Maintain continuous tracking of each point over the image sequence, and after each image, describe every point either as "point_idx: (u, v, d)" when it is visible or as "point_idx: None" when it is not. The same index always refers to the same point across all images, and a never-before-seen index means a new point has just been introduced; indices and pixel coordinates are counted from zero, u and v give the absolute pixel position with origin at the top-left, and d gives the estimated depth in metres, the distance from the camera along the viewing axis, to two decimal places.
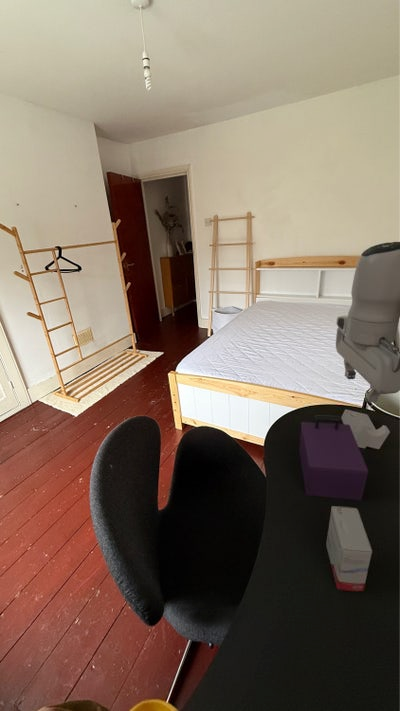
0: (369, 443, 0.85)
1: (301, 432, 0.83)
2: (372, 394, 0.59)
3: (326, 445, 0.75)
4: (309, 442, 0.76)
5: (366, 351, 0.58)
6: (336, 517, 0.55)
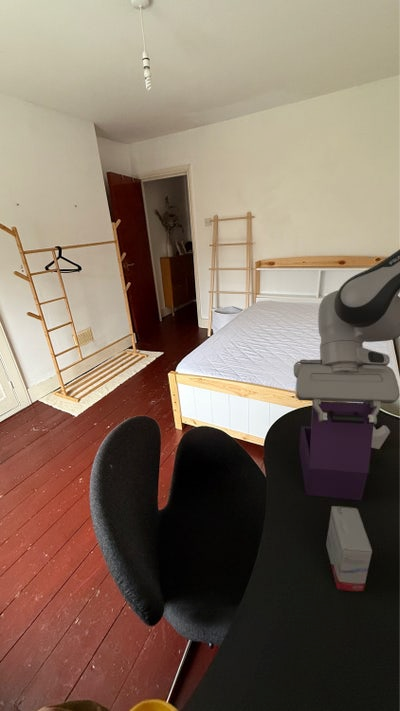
0: None
1: (301, 432, 0.83)
2: (316, 411, 0.64)
3: (334, 440, 0.66)
4: (316, 437, 0.67)
5: None
6: (336, 517, 0.55)
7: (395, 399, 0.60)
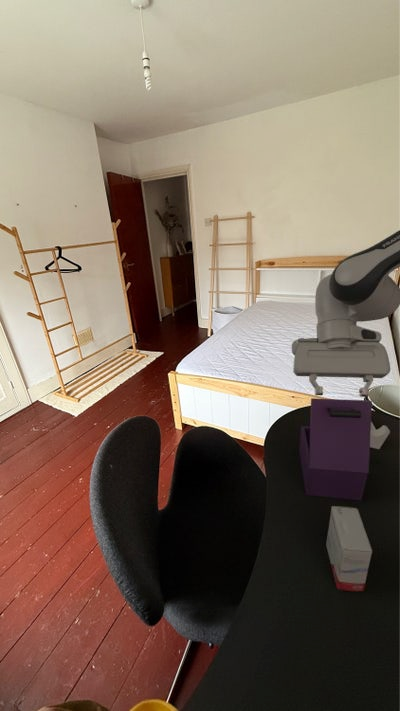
0: (370, 443, 0.85)
1: (301, 432, 0.83)
2: (312, 385, 0.69)
3: (333, 438, 0.67)
4: (316, 435, 0.68)
5: None
6: (336, 517, 0.55)
7: (386, 373, 0.64)
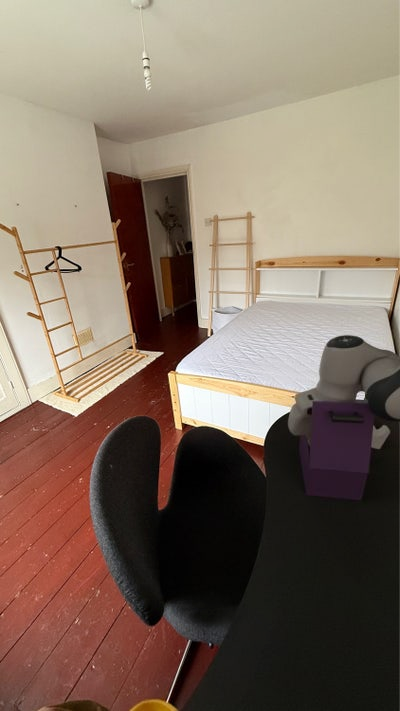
0: None
1: None
2: None
3: (334, 440, 0.66)
4: (316, 437, 0.67)
5: None
6: None
7: None
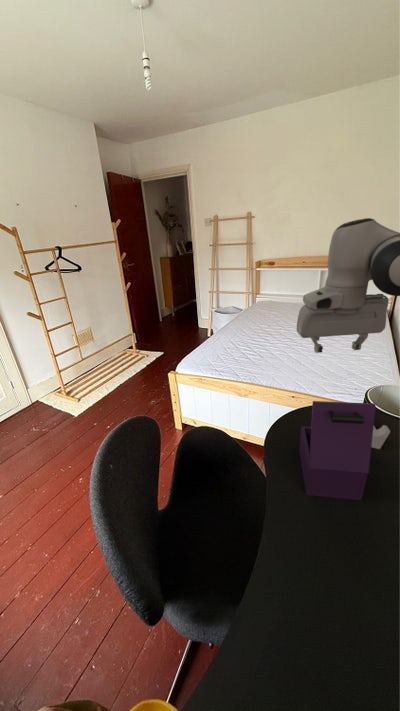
0: None
1: (301, 432, 0.83)
2: None
3: (334, 440, 0.66)
4: (316, 437, 0.67)
5: (359, 311, 0.68)
6: None
7: None
